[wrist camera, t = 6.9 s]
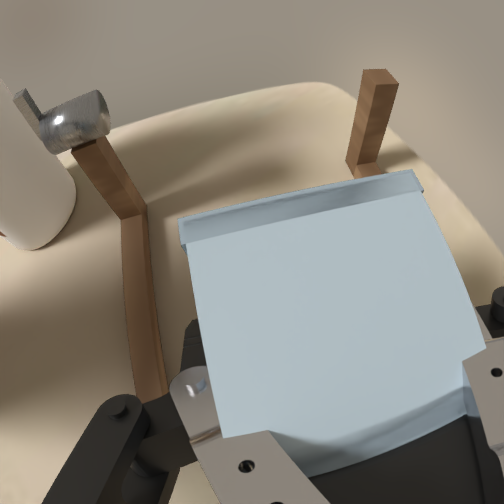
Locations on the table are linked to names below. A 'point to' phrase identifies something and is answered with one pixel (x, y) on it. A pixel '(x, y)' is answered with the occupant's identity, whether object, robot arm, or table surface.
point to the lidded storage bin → (332, 318)
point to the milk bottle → (30, 182)
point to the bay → (136, 224)
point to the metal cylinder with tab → (66, 120)
